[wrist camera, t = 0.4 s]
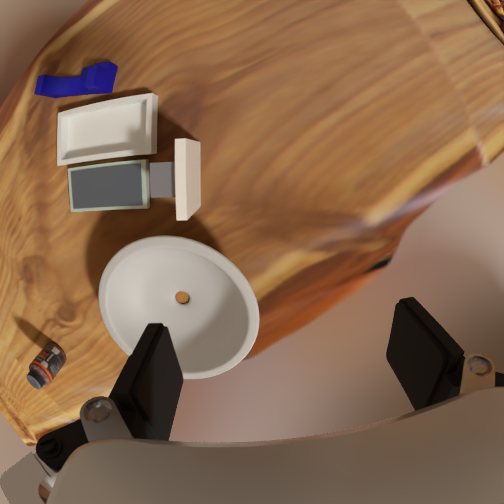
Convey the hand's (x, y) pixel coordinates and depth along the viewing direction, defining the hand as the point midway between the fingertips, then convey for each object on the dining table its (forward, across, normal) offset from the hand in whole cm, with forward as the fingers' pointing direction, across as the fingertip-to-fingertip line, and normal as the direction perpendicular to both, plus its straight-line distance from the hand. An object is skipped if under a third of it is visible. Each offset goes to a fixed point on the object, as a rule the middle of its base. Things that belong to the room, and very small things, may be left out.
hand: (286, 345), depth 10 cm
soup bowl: (+30, +14, +13) cm, 36 cm away
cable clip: (+30, +26, -24) cm, 46 cm away
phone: (+30, +22, -6) cm, 38 cm away
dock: (+30, +22, -14) cm, 40 cm away
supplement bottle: (+30, +48, +26) cm, 63 cm away
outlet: (+30, +10, -6) cm, 32 cm away
